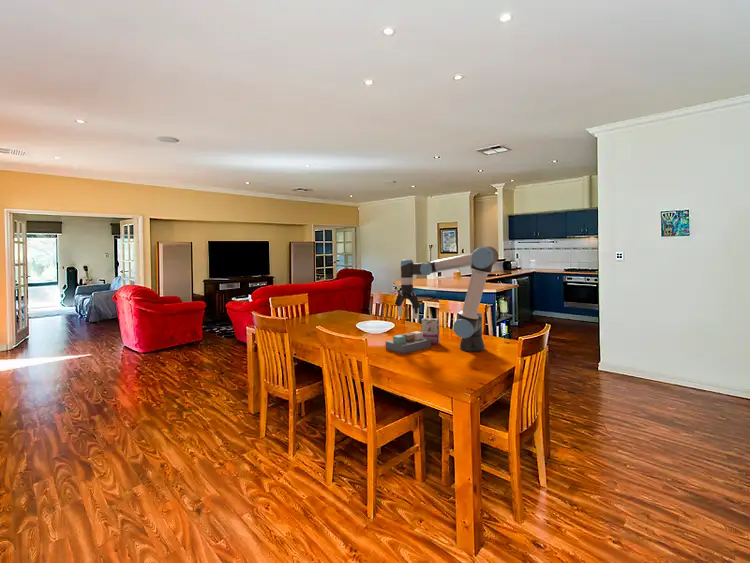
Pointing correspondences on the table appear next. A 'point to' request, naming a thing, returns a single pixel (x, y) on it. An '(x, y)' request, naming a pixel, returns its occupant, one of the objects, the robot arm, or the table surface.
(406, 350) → the dark grey tray
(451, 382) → the table surface
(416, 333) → the ivory key
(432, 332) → the candy bar box
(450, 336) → the table surface
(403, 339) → the teal key
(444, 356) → the table surface
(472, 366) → the table surface
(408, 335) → the walnut key
